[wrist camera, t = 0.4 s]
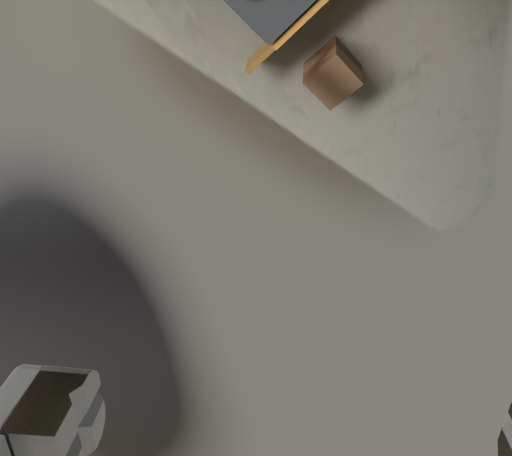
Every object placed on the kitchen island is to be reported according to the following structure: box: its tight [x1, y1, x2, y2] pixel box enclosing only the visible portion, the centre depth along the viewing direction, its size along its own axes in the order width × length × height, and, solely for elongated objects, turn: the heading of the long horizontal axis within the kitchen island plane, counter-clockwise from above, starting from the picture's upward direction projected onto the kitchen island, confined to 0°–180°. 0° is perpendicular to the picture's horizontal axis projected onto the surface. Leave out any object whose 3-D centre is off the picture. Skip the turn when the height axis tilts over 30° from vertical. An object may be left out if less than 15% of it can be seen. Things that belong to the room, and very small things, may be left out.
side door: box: [245, 0, 329, 74], centre depth 50 cm, size 17×1×5 cm, turn 136°
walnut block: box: [303, 36, 364, 110], centre depth 55 cm, size 5×5×5 cm
